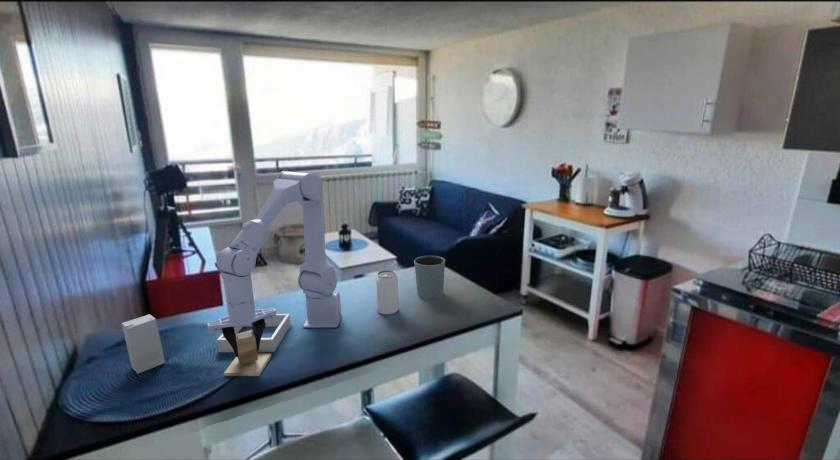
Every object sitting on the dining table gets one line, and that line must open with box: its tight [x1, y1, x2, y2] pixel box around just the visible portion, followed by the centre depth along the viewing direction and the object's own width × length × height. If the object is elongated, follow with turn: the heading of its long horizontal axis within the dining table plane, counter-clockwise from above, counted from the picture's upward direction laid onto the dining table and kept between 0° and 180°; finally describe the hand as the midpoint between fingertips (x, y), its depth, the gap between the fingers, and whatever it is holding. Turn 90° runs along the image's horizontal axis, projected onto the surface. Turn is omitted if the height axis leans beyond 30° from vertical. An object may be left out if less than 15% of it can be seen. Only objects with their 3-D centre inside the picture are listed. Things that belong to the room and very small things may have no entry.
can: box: [375, 269, 399, 316], centre depth 125 cm, size 6×6×12 cm
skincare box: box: [121, 314, 166, 375], centre depth 97 cm, size 6×4×12 cm
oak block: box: [236, 329, 258, 365], centre depth 98 cm, size 4×4×6 cm
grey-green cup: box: [413, 255, 446, 300], centre depth 137 cm, size 10×10×12 cm
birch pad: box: [223, 353, 272, 377], centre depth 99 cm, size 8×8×1 cm
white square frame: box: [216, 313, 292, 353], centre depth 111 cm, size 14×14×4 cm
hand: (247, 352), depth 98 cm, fingers closed on oak block, 4 cm apart
